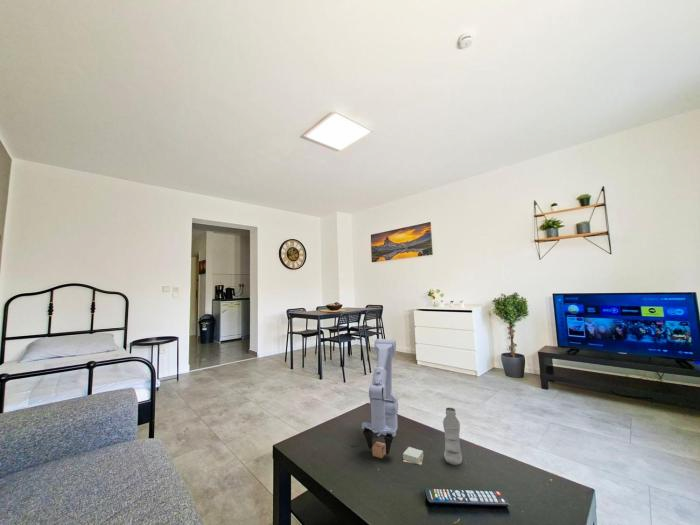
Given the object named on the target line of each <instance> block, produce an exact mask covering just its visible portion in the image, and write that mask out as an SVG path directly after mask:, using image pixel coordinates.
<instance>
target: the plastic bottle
mask: <svg viewBox="0 0 700 525" xmlns="http://www.w3.org/2000/svg"><path fill="white" fill-rule="evenodd" d="M456 415H457V412H456V409H455V408H454V407H446V408H445V417H444V418H443V420H442V426H443V430H444V441H445V446H444V454H443V455H444V456H443V457H444V459H445V461H446V463H447V464H450V465H453V466H459V465H461V464H462V462H463V456H462V451H461V444H460V430H461V423H460V421H459V419H458V417H457V416H456Z"/></svg>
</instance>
